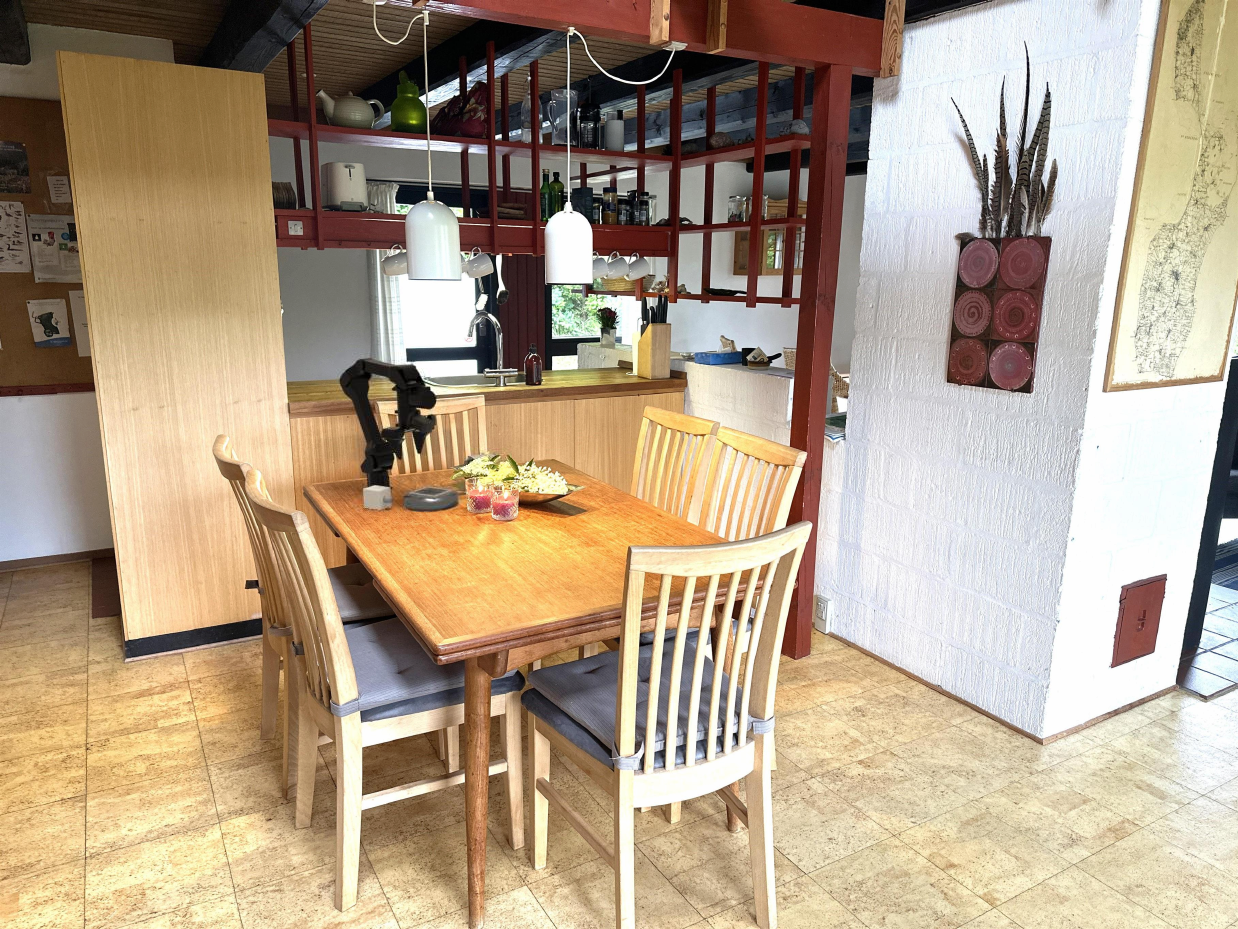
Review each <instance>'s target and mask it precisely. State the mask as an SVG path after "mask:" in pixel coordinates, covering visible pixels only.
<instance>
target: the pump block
mask: <svg viewBox="0 0 1238 929" xmlns="http://www.w3.org/2000/svg"><path fill="white" fill-rule="evenodd" d="M391 490H392V489H390V487H383V486H376V485H374V486H371V487H364V488H362V494H363V507H364V509H365V508H369V509H368V510H371V509H377V510H376V511H378V510H381V509H384V508H387V507H389V508H391V507H392V503H393V502H394V498H393V496H392V495H391V492H392V491H391ZM390 506H391V507H390ZM387 509H388V508H387ZM384 510H385V509H384ZM381 511H382V510H381Z"/></svg>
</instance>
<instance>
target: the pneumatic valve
mask: <svg viewBox="0 0 1238 929" xmlns="http://www.w3.org/2000/svg"><path fill="white" fill-rule="evenodd" d="M487 455H488V456H490V457H492V456H499V455H498V454H496V453H494V452H493V453H485V452H481V454H476V455H473V454H472V455H467V458H466V460H464V461H463V467H464V466H466V465H468V464H469V463H470V462H472V461H473V460H475V459H478V458H481V457H484V456H487Z"/></svg>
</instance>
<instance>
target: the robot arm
mask: <svg viewBox="0 0 1238 929" xmlns="http://www.w3.org/2000/svg"><path fill="white" fill-rule="evenodd" d="M373 375H377V376H379V377H384V378H387V379H388V381H390V383H392V384H394V386H392V387H391V391H392V392H395V393H396V406H397V409H394V414H395V415H397V423H394V425H395V426H388V427H384V428H382V429H381V431H380V428H379V425H378V422H377V419H376V417H375V415H374V410H373V408H372V405H371V403H370V400H369V392H370V383H369V382H370V380H371V379H372V378H373ZM338 382H339V386H340V387H341V390H342V392H343V394H344V395H346V397H347V398H349V399H350V400H351V401H352V406H353V407H354V410H355V413H356V415H357V419H358V421H359V425H360V428H361V430H362V433H363V438H364V439H365V443H366V445H365V449H364V457H365V459H364V460H363V462H362V463H361V464H360V470H361V472H362V473H364V474H366V483H367V484H366V485H367V487H366V488H368V487H371V486H374V485H376V486H383V487H390V490H392V489H393V486H390V484H391V483H390V476H389V471H391V470H393V467H394V462H395V456H396V458H397V460H399V461H401V460H403V443H404V441H405V440H406V437H405V435H406V434H407V433H411V434H412V439H413V442H414V446H415V450H416V453H417V454H418V455H421V454H422V452H423V448H424V444H425V441H426V439H427V436H429V435H430V434H431V433H432V432H433V431H434V430H435V427H436V425H437V423H436V422H437V418H436V415H435V414H432V413H431V414H430V413H429V414H428V415H423V414H422V413H421V410H430V411H431V410H433V409H434V408H435V406H436V404H437V396H436V394H435V392H434V391H432V390H431V386H430V385H429V386H428V385H427V384H426V383H425V381H424V378H423V377H422V375H421V374H420V372H419V370H418V368H417V366H416V365H415V364H412V363H411V364H394V363H389V362H385V361H381V360H377V359H373V358H371V357H368V358H367V357H365V358H359V359H357V360H356V361H355V363H354V364H352V365H350V367H348V368H347V369H346V370H344V372H342V373H341V375H340V376H339V380H338Z"/></svg>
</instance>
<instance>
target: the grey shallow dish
mask: <svg viewBox="0 0 1238 929" xmlns="http://www.w3.org/2000/svg"><path fill="white" fill-rule="evenodd" d="M403 504H404V505H403V506H405V507H406V508H405V507H404V508H405V509H407V508H408V509H407V510H409V509H411V510H410V511H413V510H416V511H415V512H423V511H429V512H440V511H439V510H441V511H445V510H450V509H452V508H455V507H457V506H458V505H459V493H458V491H457V490H455V489H452V488H445V487H434V486H424V487H422V488H419V489H418V488H417V489H414V490H411V491H410V490H409V491H407V492H406V493H404V494H403Z"/></svg>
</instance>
